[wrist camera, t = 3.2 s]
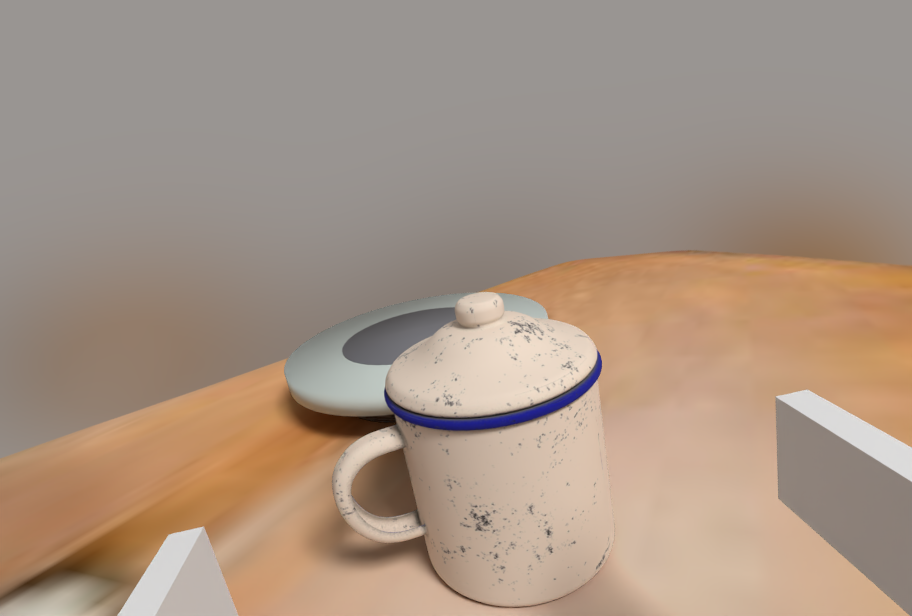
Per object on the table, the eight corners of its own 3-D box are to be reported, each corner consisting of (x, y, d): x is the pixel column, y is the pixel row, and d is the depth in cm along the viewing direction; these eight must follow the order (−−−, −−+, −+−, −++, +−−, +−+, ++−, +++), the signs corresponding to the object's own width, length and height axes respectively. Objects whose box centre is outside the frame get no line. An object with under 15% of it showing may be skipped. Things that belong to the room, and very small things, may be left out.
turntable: (238, 388, 43) (232, 370, 42) (415, 303, 57) (412, 288, 57) (429, 445, 29) (423, 419, 28) (596, 313, 44) (594, 295, 43)
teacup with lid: (553, 455, 30) (524, 257, 27) (667, 557, 22) (645, 288, 19) (347, 538, 27) (284, 322, 23) (390, 696, 18) (301, 396, 15)
